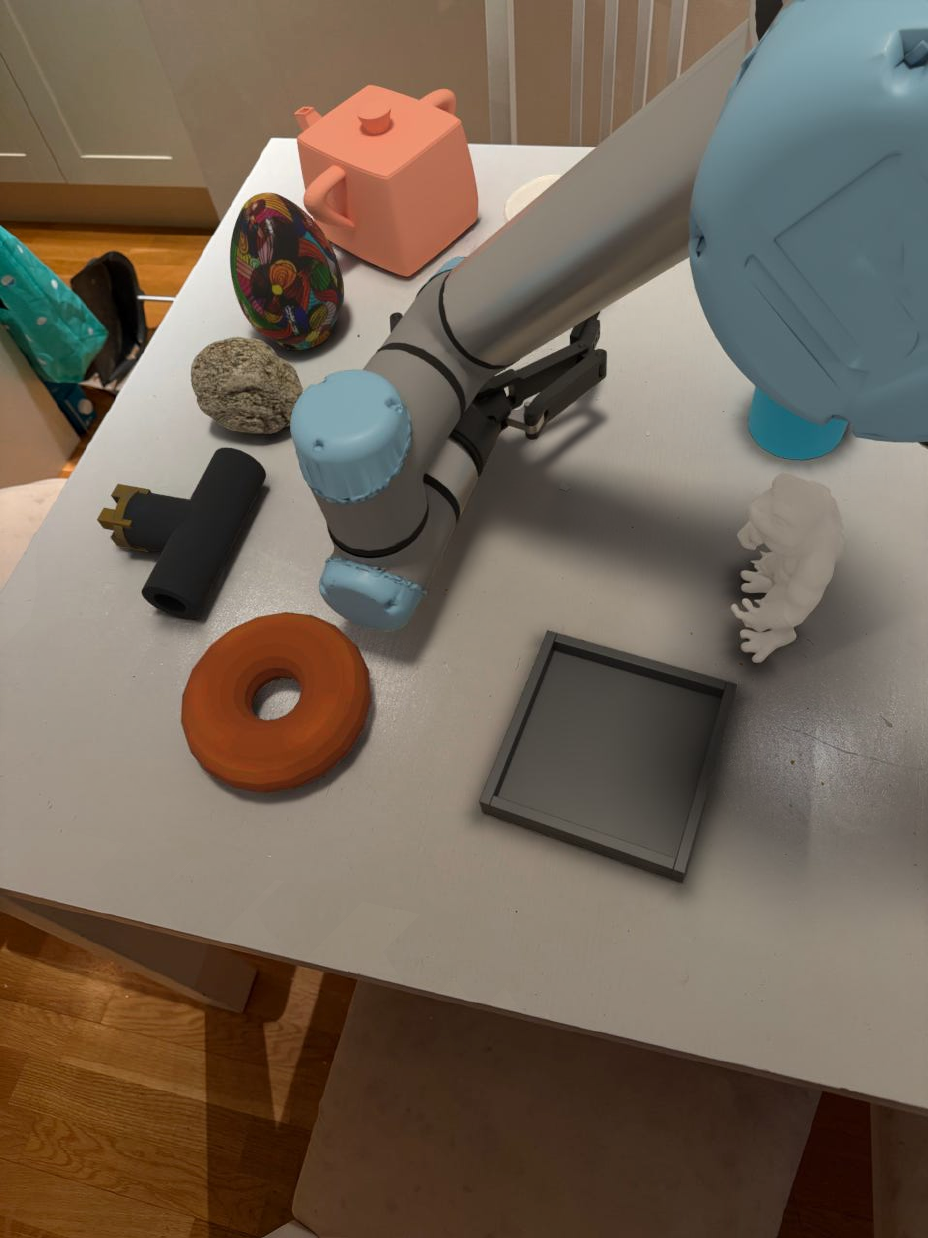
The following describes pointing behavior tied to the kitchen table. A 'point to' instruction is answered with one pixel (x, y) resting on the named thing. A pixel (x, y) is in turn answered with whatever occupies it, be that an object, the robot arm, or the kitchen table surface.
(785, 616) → the figurine
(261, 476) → the pipe connector
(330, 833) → the kitchen table surface
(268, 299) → the egg
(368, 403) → the robot arm
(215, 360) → the stone
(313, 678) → the donut
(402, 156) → the teapot
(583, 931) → the kitchen table surface
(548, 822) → the tray
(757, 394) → the mug
